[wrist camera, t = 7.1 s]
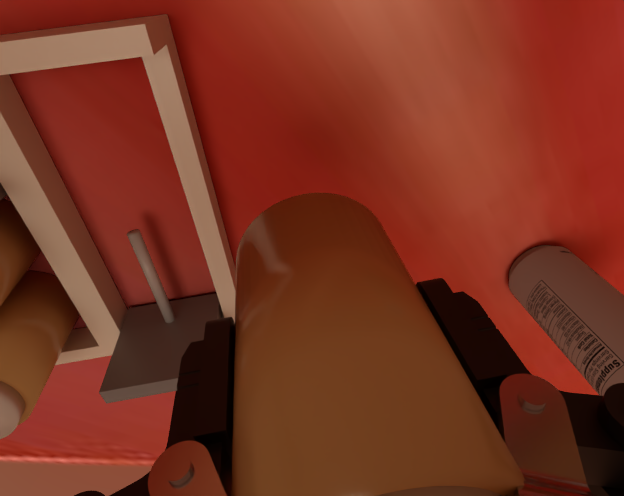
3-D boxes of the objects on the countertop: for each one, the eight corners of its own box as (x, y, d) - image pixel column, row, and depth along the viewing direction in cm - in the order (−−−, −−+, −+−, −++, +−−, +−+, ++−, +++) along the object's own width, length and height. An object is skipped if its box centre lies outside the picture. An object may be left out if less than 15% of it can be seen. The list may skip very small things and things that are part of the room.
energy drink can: (560, 284, 38) (710, 428, 26) (500, 298, 38) (622, 449, 26) (572, 233, 35) (752, 371, 22) (506, 248, 35) (650, 396, 22)
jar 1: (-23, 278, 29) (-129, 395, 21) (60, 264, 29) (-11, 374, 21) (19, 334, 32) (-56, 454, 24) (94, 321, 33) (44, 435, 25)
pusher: (86, 224, 27) (37, 301, 21) (193, 208, 28) (177, 277, 21) (133, 318, 33) (106, 403, 26) (223, 303, 33) (217, 383, 27)
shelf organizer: (-239, 65, 20) (-481, 107, 14) (167, 13, 22) (131, 29, 15) (1, 354, 33) (-61, 450, 26) (247, 312, 34) (247, 393, 28)
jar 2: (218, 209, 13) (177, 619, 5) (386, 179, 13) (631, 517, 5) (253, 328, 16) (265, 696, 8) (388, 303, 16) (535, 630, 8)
